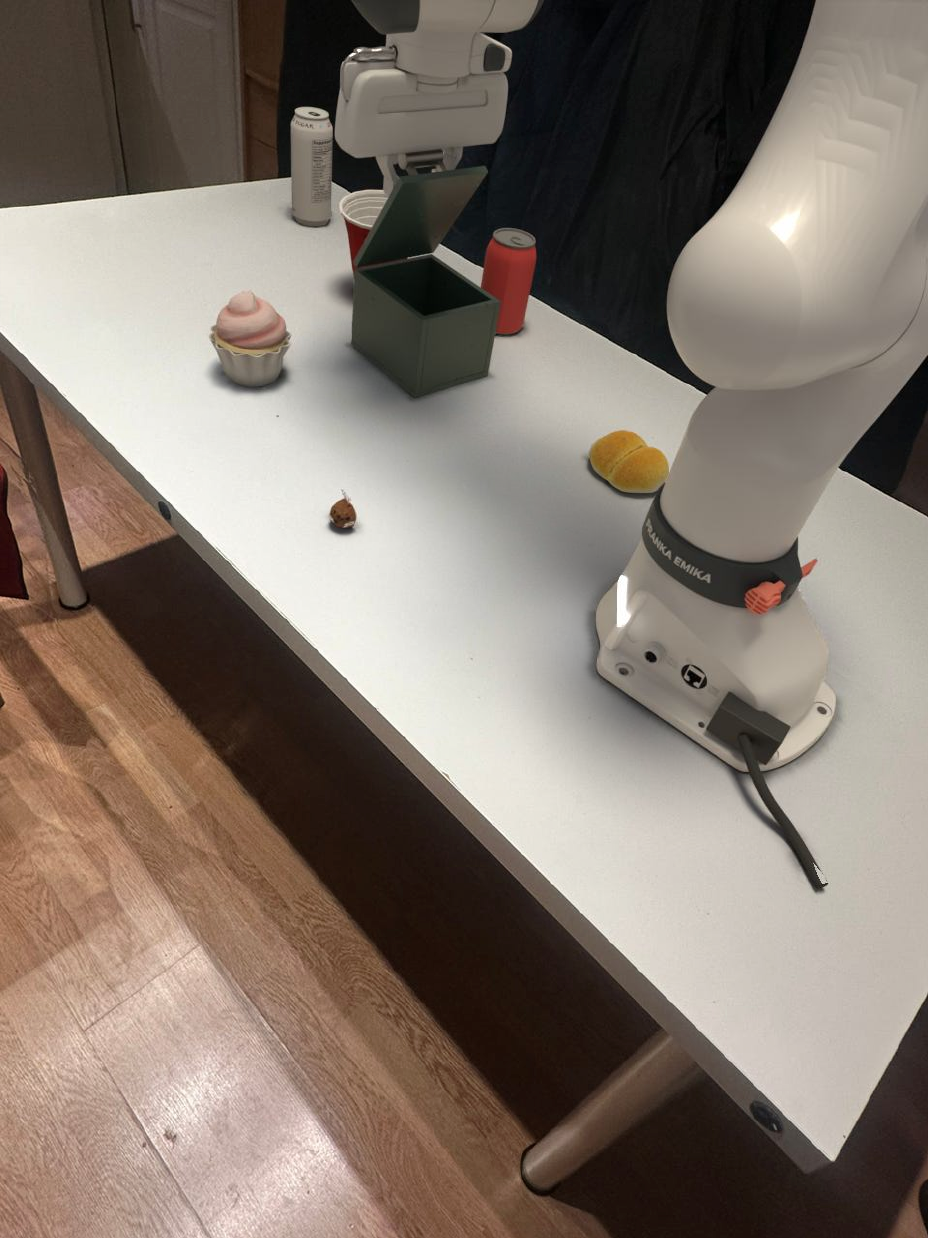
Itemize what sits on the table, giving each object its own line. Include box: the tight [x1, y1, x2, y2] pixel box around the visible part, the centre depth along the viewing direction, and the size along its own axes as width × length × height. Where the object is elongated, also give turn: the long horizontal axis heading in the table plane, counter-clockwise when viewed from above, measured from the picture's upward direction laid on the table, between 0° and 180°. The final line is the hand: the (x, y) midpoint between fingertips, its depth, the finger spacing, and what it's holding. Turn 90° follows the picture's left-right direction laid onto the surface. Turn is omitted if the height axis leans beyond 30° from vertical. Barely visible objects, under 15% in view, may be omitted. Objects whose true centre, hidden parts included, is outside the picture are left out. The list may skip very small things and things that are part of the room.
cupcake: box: [208, 289, 293, 387], centre depth 93 cm, size 9×9×10 cm
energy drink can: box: [290, 106, 334, 227], centre depth 124 cm, size 6×6×15 cm
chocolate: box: [328, 488, 358, 529], centre depth 79 cm, size 3×2×4 cm
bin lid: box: [353, 149, 489, 268], centre depth 94 cm, size 14×12×5 cm
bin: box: [350, 253, 501, 399], centre depth 101 cm, size 14×12×10 cm
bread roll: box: [589, 429, 670, 494], centre depth 92 cm, size 8×9×4 cm
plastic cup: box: [338, 189, 408, 276], centre depth 110 cm, size 11×11×12 cm
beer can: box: [480, 227, 537, 335], centre depth 109 cm, size 7×7×12 cm
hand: (416, 191), depth 92 cm, fingers open, 5 cm apart
